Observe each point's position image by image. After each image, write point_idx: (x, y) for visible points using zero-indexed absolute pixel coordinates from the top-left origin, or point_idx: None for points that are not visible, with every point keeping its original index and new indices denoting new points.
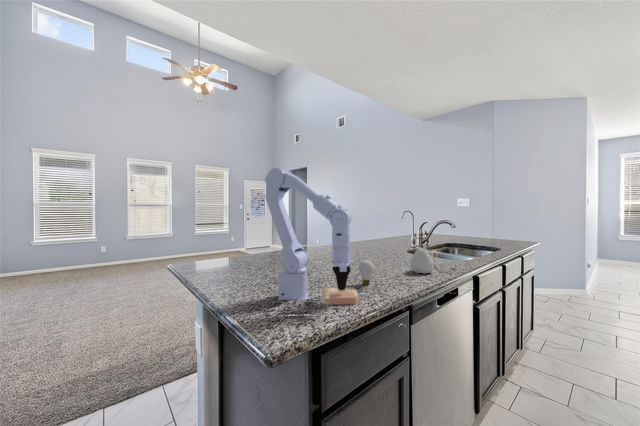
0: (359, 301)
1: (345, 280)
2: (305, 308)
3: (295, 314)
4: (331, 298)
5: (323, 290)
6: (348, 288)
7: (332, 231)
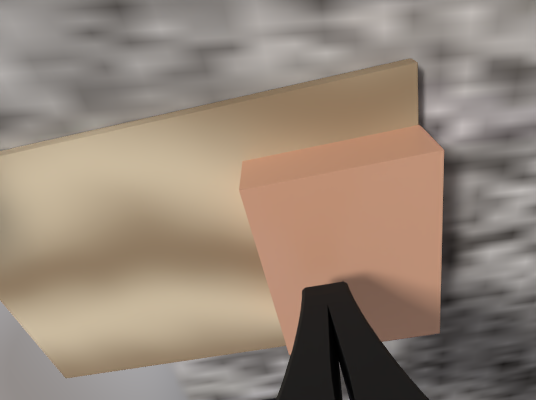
0: (341, 96)
1: (389, 369)
2: (444, 376)
3: (527, 392)
4: (438, 320)
5: (125, 366)
6: None
7: None
